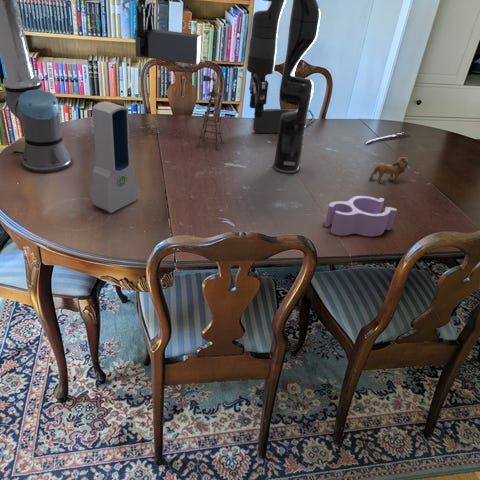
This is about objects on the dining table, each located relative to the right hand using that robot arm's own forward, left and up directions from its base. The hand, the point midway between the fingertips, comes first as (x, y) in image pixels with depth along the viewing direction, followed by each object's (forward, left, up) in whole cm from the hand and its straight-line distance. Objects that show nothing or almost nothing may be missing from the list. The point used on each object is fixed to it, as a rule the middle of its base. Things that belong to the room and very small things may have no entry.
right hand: (255, 112), depth 136 cm
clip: (-11, +34, -29) cm, 46 cm away
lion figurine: (-51, +28, -29) cm, 65 cm away
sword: (-95, +10, -29) cm, 100 cm away
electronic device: (+32, -26, -29) cm, 50 cm away
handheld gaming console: (-62, -28, -29) cm, 74 cm away
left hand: (-17, -63, +2) cm, 65 cm away
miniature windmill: (-27, -38, -29) cm, 55 cm away
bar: (-21, -56, +2) cm, 59 cm away
